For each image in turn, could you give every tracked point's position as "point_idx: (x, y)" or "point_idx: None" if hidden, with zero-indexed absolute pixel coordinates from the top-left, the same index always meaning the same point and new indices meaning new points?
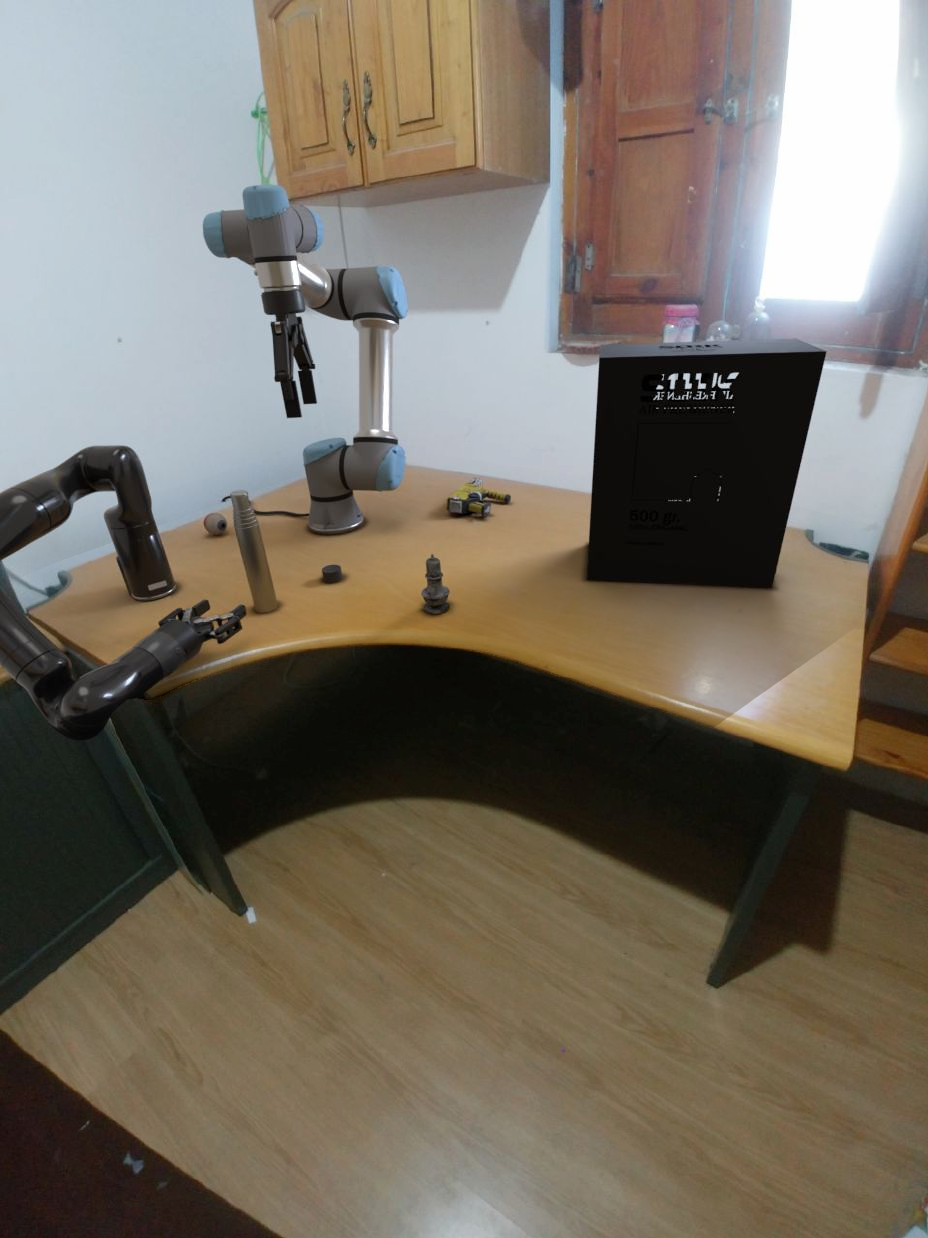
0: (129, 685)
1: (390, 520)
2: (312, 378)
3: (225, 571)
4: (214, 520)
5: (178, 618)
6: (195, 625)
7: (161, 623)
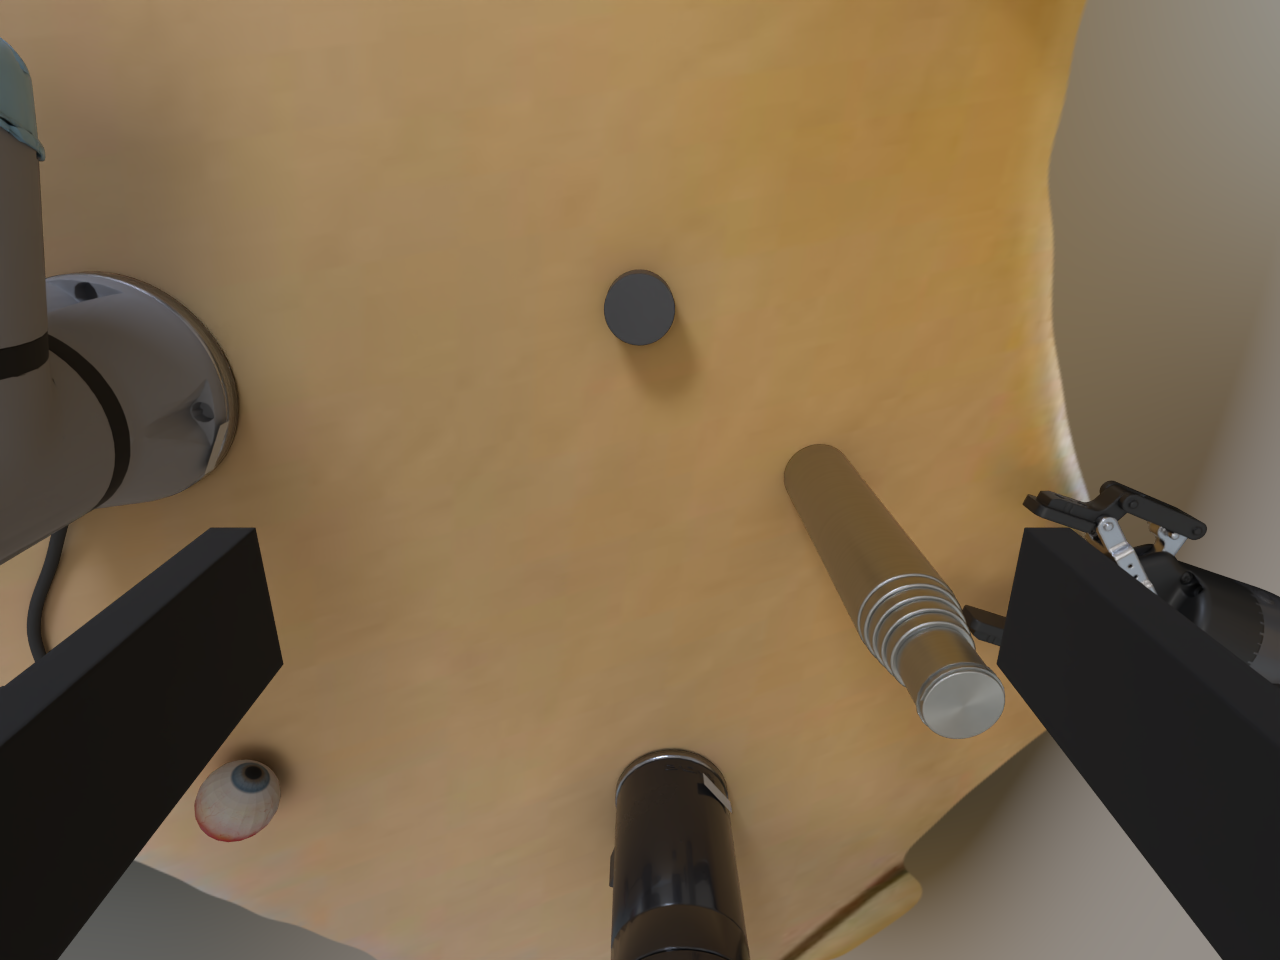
0: None
1: None
2: (6, 722)
3: (550, 663)
4: (253, 807)
5: None
6: None
7: None
